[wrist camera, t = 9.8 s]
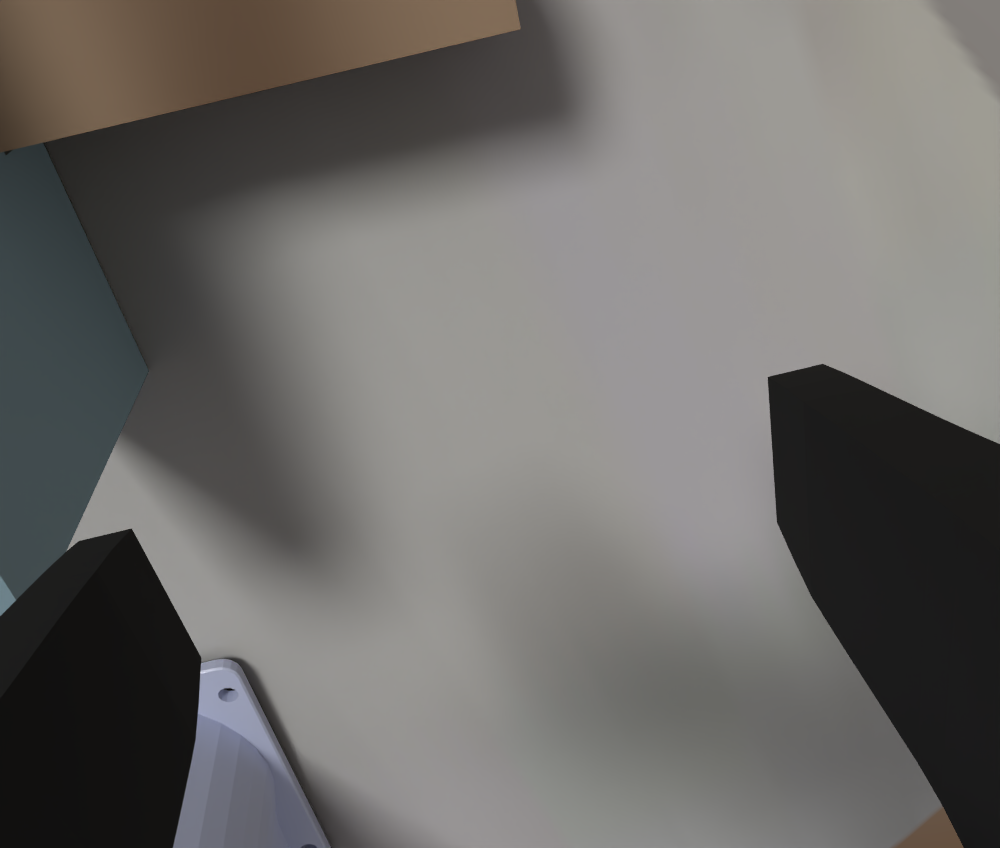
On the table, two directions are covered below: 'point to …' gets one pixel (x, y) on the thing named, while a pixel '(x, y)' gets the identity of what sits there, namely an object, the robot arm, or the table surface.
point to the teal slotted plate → (53, 370)
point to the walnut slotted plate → (200, 52)
